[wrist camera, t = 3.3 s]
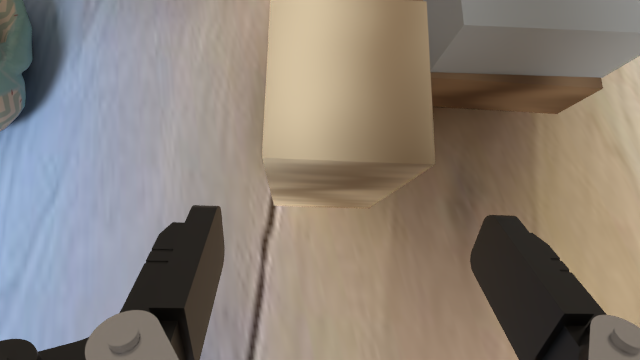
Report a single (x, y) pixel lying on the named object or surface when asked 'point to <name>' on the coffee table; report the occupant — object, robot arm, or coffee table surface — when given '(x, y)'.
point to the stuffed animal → (13, 58)
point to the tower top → (533, 36)
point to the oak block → (346, 101)
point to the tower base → (510, 91)
